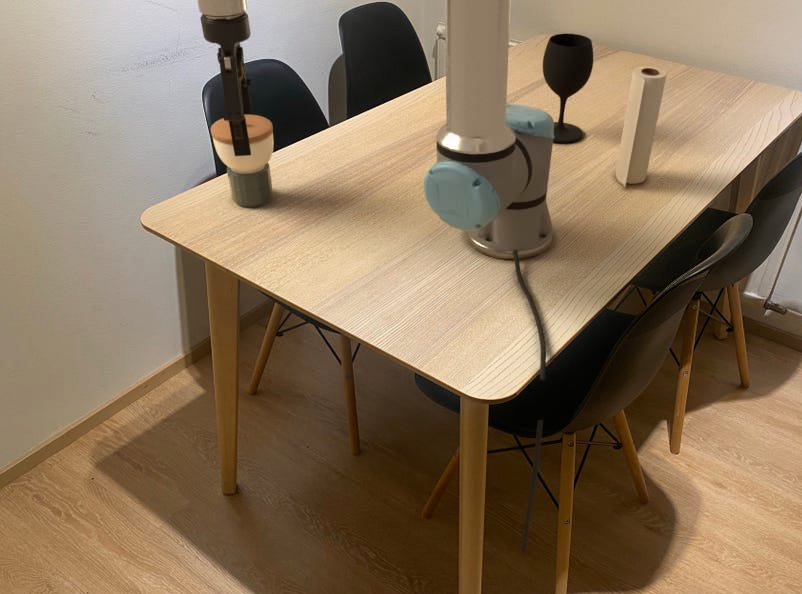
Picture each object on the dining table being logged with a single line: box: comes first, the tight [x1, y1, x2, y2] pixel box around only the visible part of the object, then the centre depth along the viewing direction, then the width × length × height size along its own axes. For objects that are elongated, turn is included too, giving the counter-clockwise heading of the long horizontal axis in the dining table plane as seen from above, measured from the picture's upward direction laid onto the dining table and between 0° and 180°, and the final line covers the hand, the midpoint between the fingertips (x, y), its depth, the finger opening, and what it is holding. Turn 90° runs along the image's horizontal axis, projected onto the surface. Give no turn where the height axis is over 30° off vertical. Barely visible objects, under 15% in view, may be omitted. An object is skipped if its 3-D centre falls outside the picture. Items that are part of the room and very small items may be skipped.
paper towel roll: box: [615, 66, 667, 188], centre depth 148 cm, size 7×6×21 cm
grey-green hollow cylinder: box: [226, 162, 274, 208], centre depth 143 cm, size 8×8×6 cm
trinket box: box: [210, 114, 275, 174], centre depth 138 cm, size 11×11×9 cm
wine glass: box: [542, 33, 594, 144], centre depth 164 cm, size 10×10×20 cm
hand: (244, 138), depth 137 cm, fingers open, 13 cm apart
